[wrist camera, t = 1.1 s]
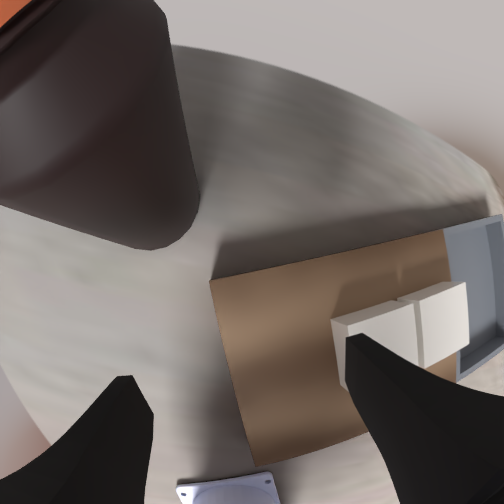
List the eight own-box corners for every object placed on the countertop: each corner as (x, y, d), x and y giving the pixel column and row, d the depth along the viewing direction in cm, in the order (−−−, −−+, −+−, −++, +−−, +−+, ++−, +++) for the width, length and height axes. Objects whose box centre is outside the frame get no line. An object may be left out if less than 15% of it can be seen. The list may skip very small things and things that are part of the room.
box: (496, 338, 22) (512, 341, 20) (437, 375, 21) (455, 383, 18) (484, 217, 23) (501, 213, 20) (422, 233, 22) (441, 229, 19)
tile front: (397, 362, 17) (418, 371, 15) (340, 384, 17) (356, 398, 14) (391, 300, 18) (413, 303, 15) (330, 319, 17) (347, 325, 15)
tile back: (447, 338, 18) (469, 343, 16) (403, 359, 18) (424, 368, 15) (442, 281, 18) (465, 281, 16) (397, 298, 18) (419, 300, 15)
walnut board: (435, 377, 21) (455, 385, 18) (250, 445, 19) (255, 466, 16) (419, 233, 22) (442, 229, 19) (210, 279, 19) (209, 281, 16)
